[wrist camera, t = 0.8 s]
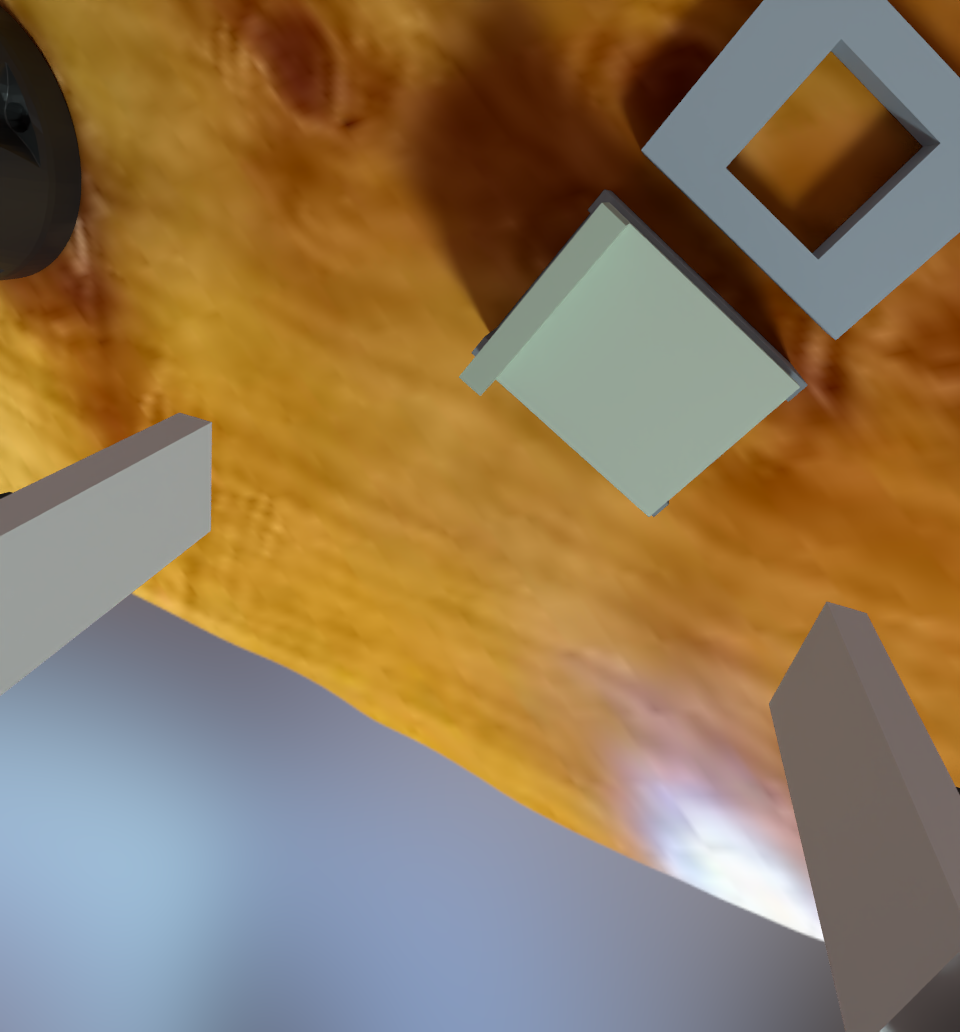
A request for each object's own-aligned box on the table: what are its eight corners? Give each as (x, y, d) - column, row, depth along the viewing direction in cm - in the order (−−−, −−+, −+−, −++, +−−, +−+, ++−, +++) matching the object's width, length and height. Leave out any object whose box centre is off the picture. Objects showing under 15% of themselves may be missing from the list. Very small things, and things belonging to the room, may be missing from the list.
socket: (642, 152, 30) (641, 150, 28) (810, -52, 26) (821, -71, 24) (826, 332, 31) (835, 340, 30) (1014, 165, 27) (1039, 162, 25)
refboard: (491, 336, 35) (471, 352, 32) (611, 190, 31) (604, 189, 27) (654, 484, 37) (653, 517, 33) (790, 363, 32) (807, 385, 29)
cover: (480, 357, 31) (458, 377, 28) (609, 202, 27) (601, 202, 24) (649, 510, 32) (647, 545, 29) (796, 382, 28) (814, 406, 25)
